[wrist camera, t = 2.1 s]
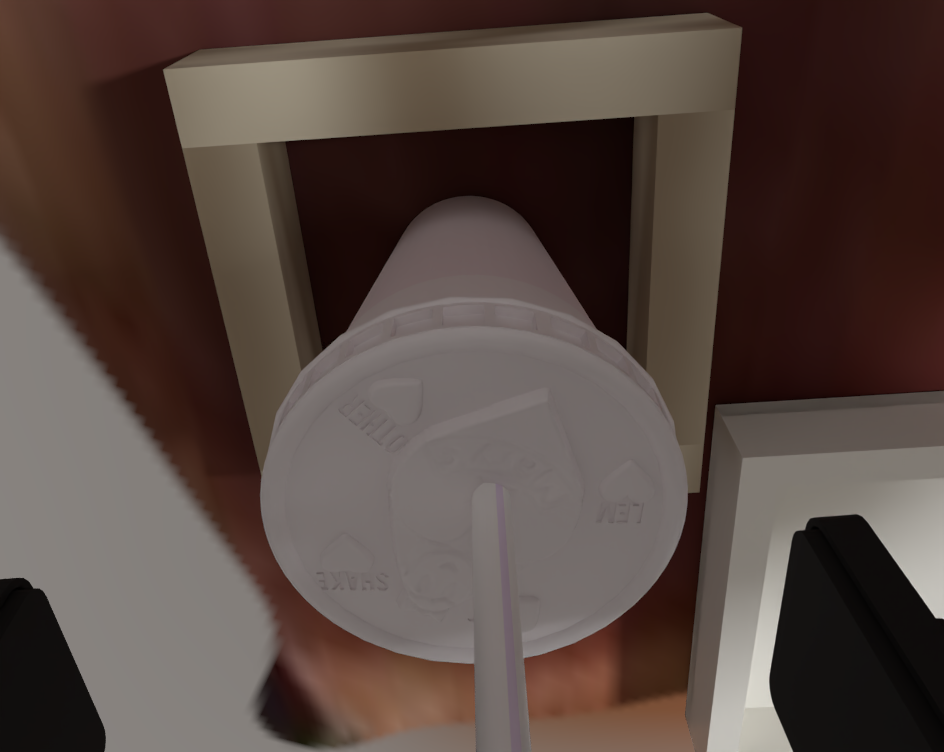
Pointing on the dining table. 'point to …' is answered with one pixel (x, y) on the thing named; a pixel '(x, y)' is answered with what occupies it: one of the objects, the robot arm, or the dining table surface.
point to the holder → (459, 107)
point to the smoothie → (474, 463)
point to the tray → (788, 510)
